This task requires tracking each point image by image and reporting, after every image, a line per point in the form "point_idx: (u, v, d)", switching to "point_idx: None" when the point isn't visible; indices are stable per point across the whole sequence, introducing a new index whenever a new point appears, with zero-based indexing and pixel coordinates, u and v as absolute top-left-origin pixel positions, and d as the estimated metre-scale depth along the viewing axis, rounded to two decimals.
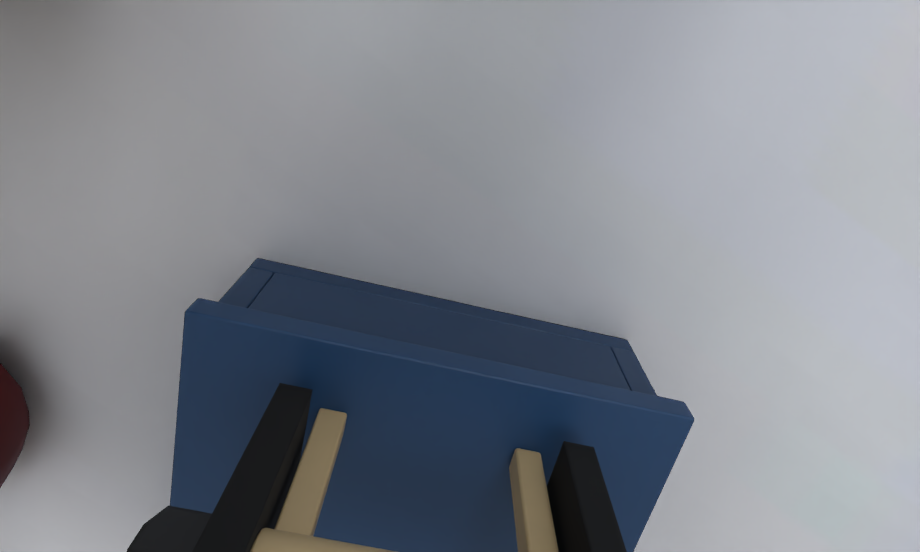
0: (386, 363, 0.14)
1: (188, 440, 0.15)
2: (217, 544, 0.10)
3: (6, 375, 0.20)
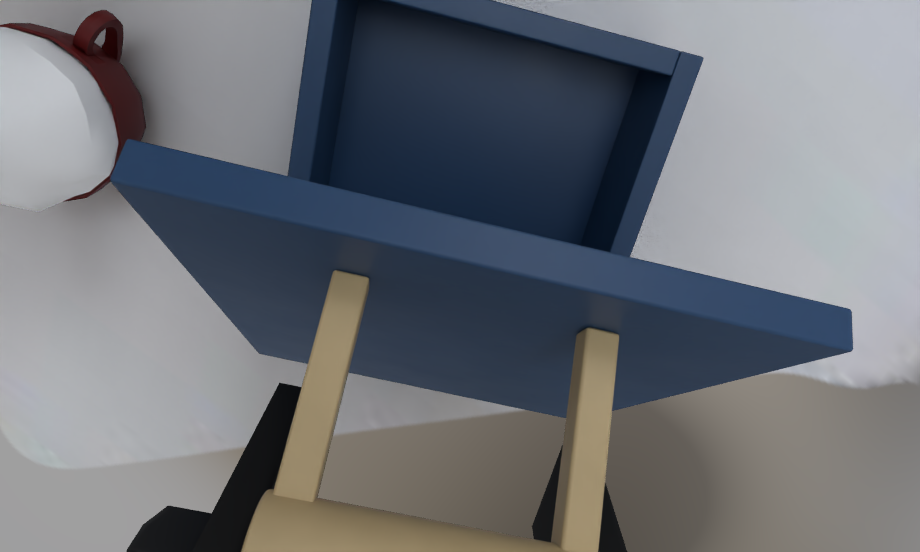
0: (410, 256, 0.10)
1: (192, 262, 0.13)
2: (217, 544, 0.10)
3: None
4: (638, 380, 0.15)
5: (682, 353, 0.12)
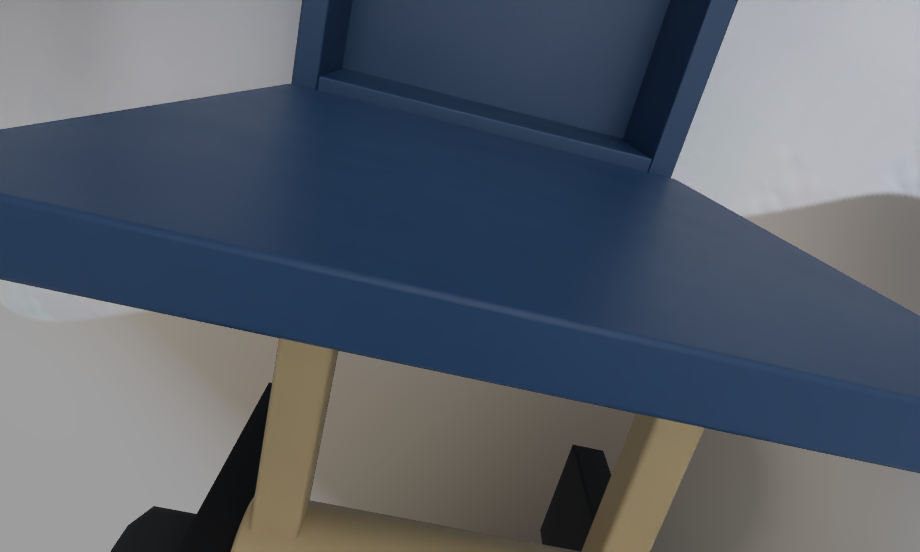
0: (387, 350, 0.06)
1: None
2: (201, 545, 0.09)
3: None
4: None
5: None
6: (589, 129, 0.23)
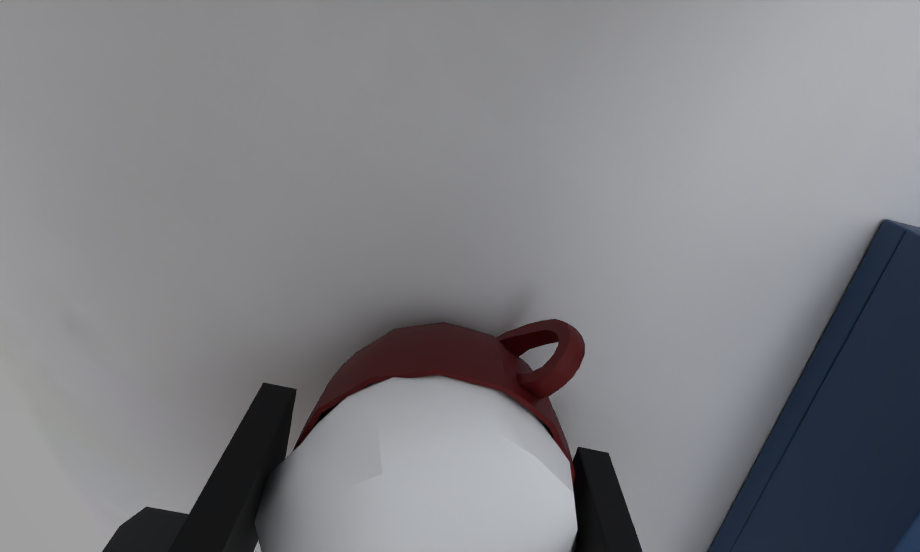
0: None
1: None
2: (192, 546, 0.09)
3: None
4: None
5: None
6: None
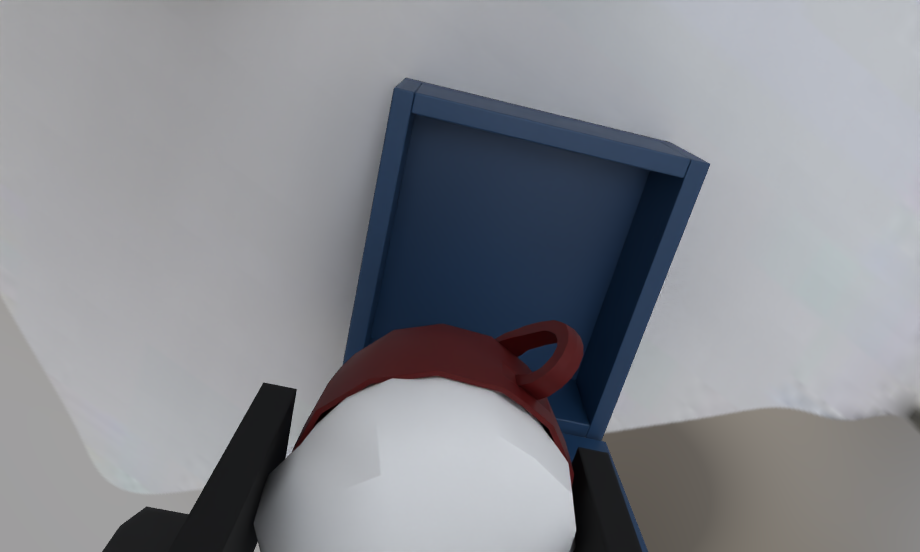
0: None
1: None
2: (193, 546, 0.09)
3: None
4: None
5: None
6: None
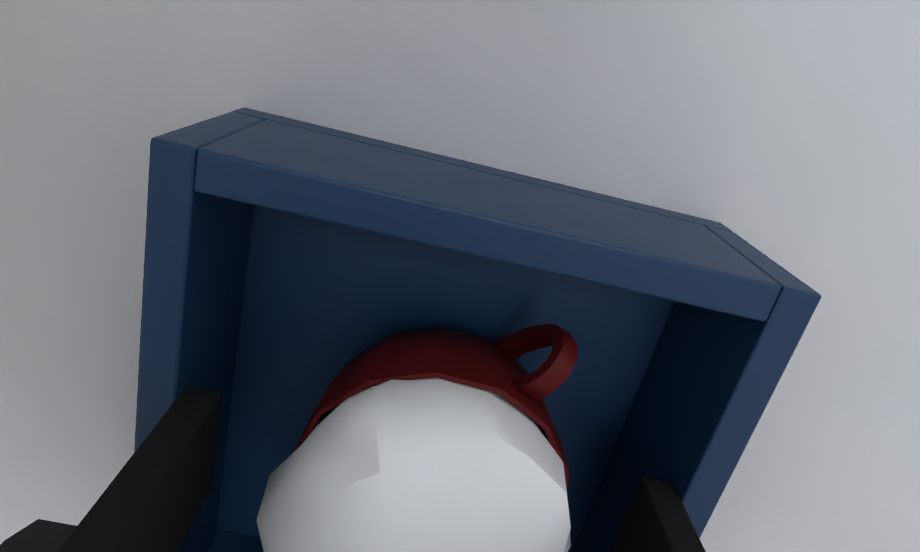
0: None
1: None
2: None
3: None
4: None
5: None
6: None
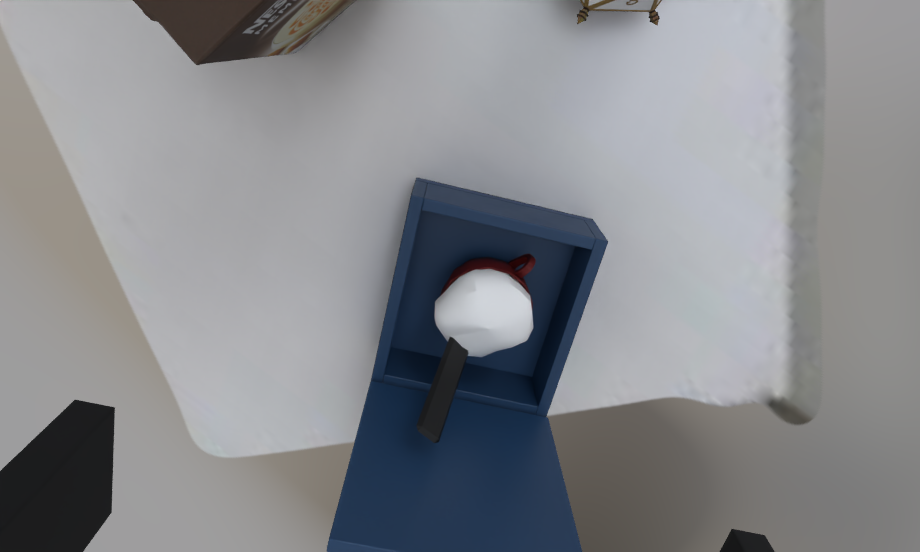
0: None
1: None
2: None
3: None
4: None
5: None
6: (514, 372, 0.46)
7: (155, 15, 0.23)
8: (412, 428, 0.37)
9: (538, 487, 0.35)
